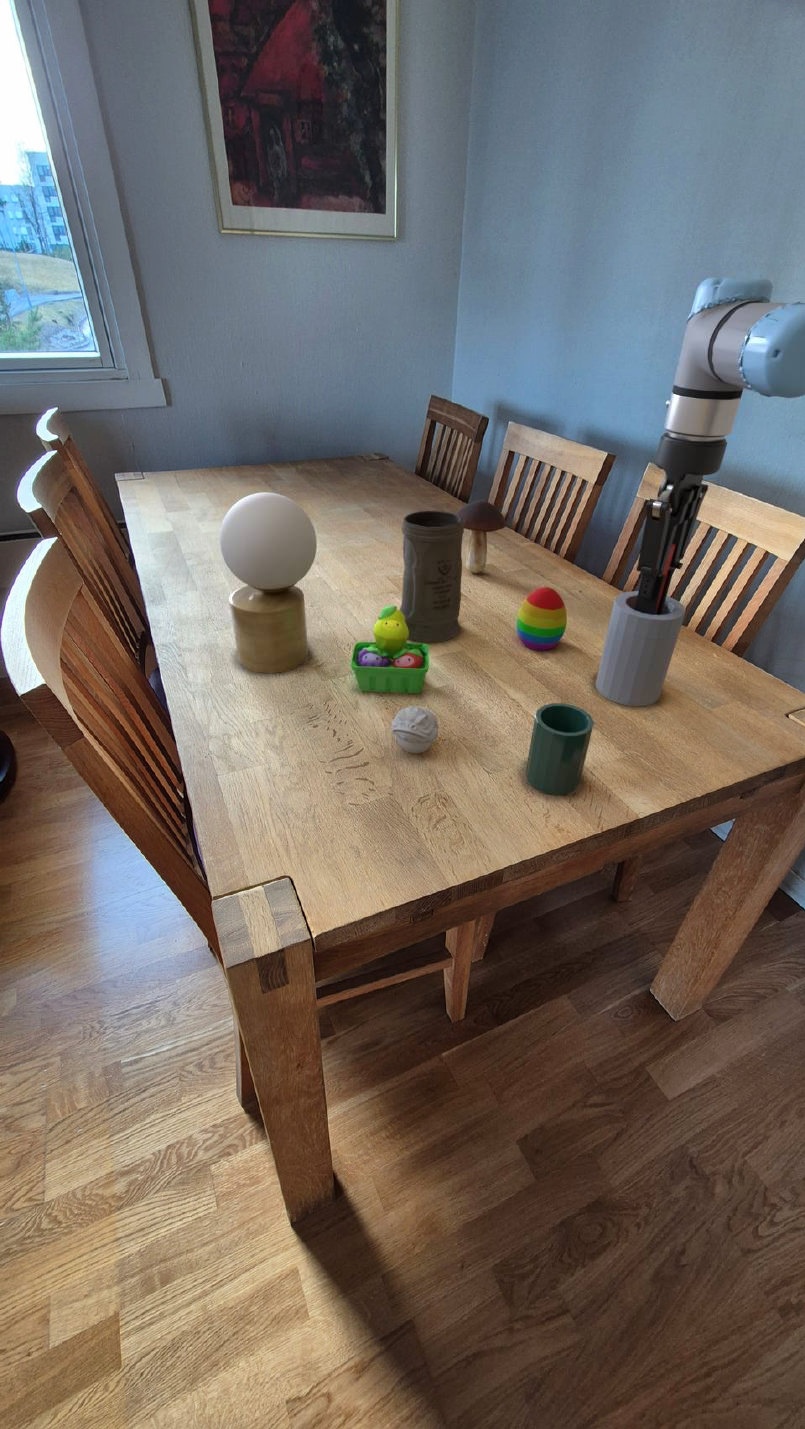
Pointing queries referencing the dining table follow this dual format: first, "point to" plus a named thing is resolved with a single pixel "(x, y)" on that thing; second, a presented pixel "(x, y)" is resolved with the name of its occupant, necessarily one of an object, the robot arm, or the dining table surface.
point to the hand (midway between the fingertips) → (647, 613)
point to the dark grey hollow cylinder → (432, 574)
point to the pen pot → (558, 748)
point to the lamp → (268, 579)
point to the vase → (638, 651)
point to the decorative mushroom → (479, 531)
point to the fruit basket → (390, 657)
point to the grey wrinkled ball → (415, 728)
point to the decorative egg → (542, 619)
